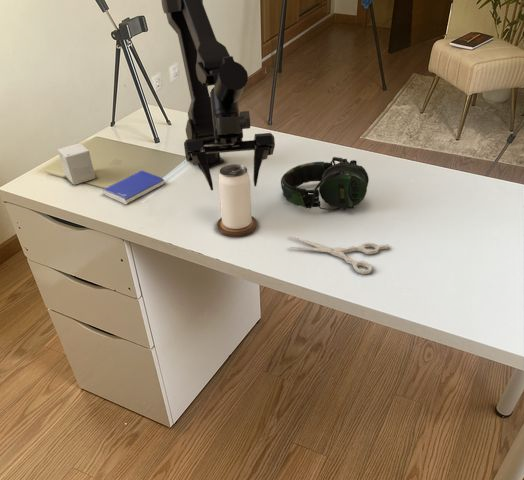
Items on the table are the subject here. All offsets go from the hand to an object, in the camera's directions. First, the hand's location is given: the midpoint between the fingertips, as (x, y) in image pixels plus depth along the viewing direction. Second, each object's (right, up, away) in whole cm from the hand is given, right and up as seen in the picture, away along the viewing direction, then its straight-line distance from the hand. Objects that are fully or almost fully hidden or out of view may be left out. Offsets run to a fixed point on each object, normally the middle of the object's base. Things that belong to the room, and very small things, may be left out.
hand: (233, 187), depth 112 cm
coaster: (0, -7, +5) cm, 9 cm away
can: (0, -7, +4) cm, 8 cm away
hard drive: (-25, +5, +18) cm, 32 cm away
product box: (-40, +10, +24) cm, 48 cm away
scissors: (+21, -15, -4) cm, 26 cm away
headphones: (+20, +1, +12) cm, 24 cm away
